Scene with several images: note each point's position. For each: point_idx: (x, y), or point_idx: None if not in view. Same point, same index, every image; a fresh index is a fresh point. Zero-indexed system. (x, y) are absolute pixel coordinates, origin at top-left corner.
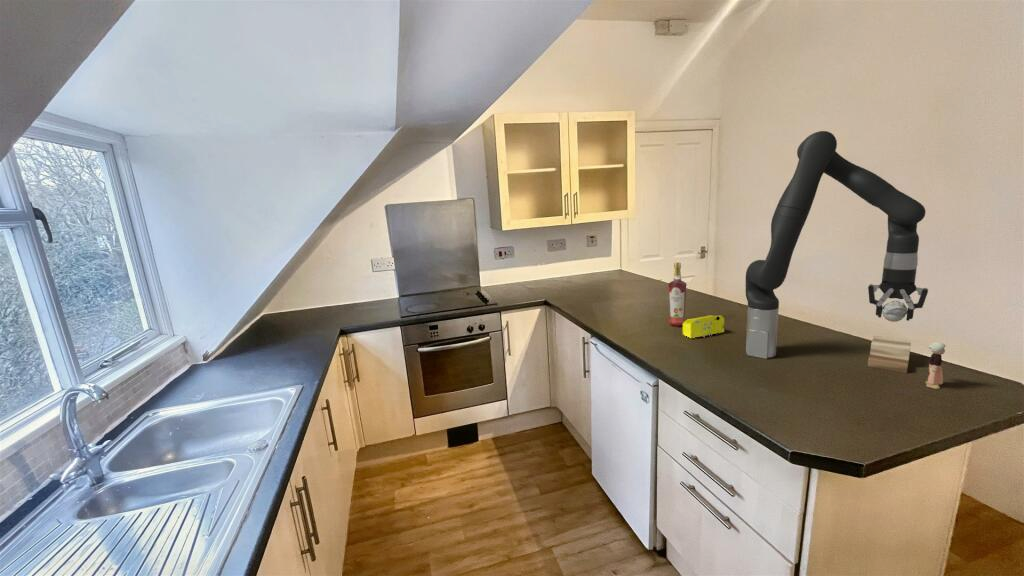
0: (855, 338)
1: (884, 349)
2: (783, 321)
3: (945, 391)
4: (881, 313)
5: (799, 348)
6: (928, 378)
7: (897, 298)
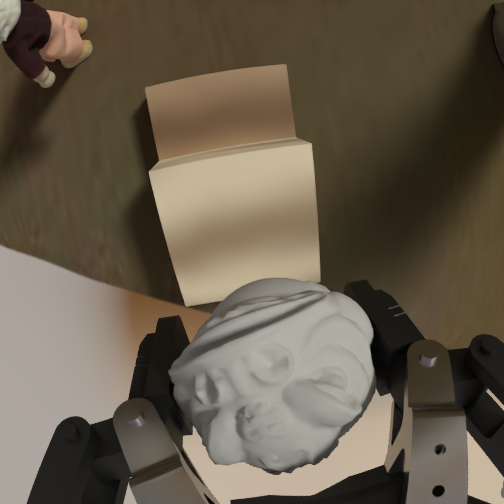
0: None
1: (249, 148)
2: None
3: None
4: None
5: (473, 141)
6: (76, 34)
7: (292, 496)
